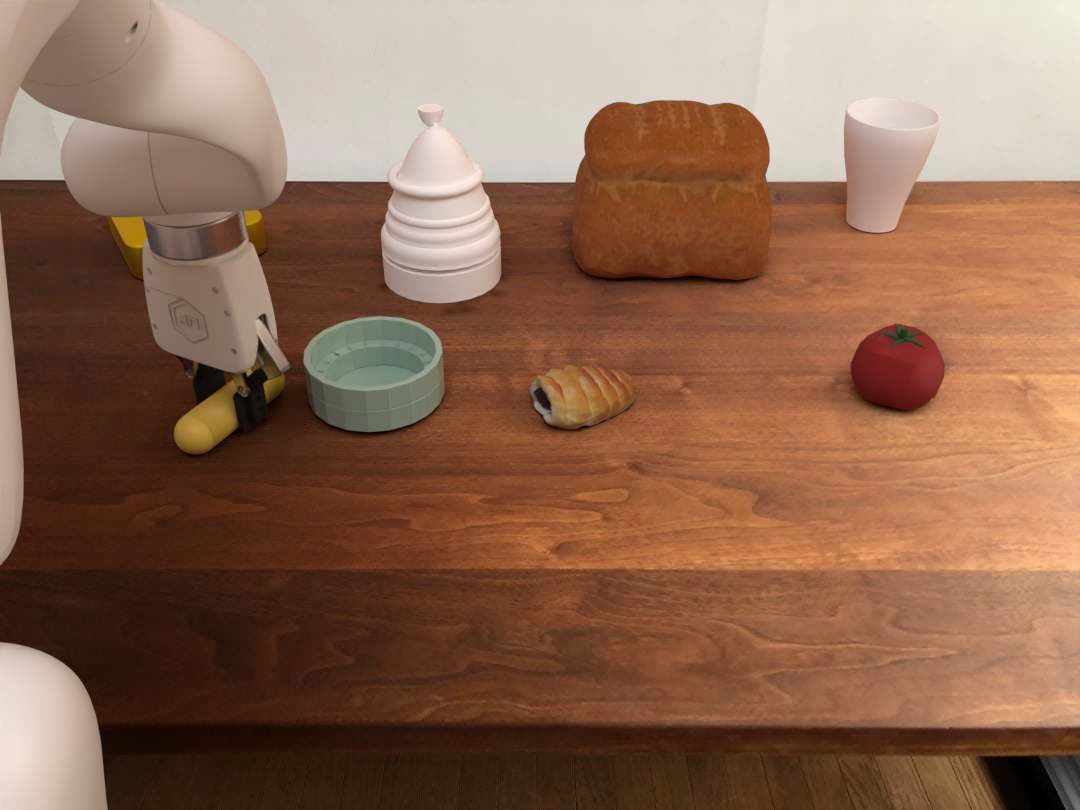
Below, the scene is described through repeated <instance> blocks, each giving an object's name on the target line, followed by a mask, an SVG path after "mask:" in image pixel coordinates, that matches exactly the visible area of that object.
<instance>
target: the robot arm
mask: <svg viewBox="0 0 1080 810" xmlns="http://www.w3.org/2000/svg"><path fill="white" fill-rule="evenodd" d="M20 89H21V90H22V91H23V92H24V93H26V94H27V95H28V96H29V97H30V98H32V99H33V100H34V101H36V102H38V103H39V104H41V105H42V106H44V107H46V108H48V109H50V110H53V111H56V112H59V113H61V114H64V115H67V116H71V117H74V118H75V119H74V120H73V121H72V123H71V125H70V126H69V128H68V130H67V132H66V135H65V136H64V138H63V140H62V144H61V149H60V166H61V172H62V175H63V179H64V181H65V184H66V186H67V189H68V191H69V193H70V194H71V196H72V197H73V199H74V200H75V201H76V202H77V203H78V204H79V205H80V206H81V207H82V208H84V209H85V210H87V211H88V212H90V213H93V214H96V215H99V216H103V217H107V216H110V217H143V221H144V226H145V230H146V234H147V239H146V240H145V242H144V244H143V278H144V280H143V287H144V294H145V301H146V307H147V312H148V313H147V314H148V317H149V323H150V327H151V332H152V334H153V339H154V342H155V343H156V344H157V346H158V347H159V348H161V349H162V350H164V351H165V352H168V353H170V354H173V355H174V356H175V357H176V358H177V359H178V360H179V361H180V362H181V363H182V365H183V366H182V367H183V373H184V375H185V376H186V377H187V378H188V379H189V380H192V381H191V383H192V387H193V391H194V397H195V401H196V406H198V405H199V404H200V403H202V402H203V401H204V400H206V399H207V398H208V397H210V396H211V395H212V394H214V393H215V392H216V391H218V390H219V389H220V388H222V387H223V386H224V385H226V384H227V382H226V375H225V372H228V373H230V374H231V377H232V380H234V383H235V386H236V389H237V392H236V393H235V394H234V395H233V401H234V406H235V411H236V416H237V420H238V426H239V427H238V429H239V431H240V432H242V433H244V434H248V433H249V432H251V431H252V430H253V429H254V428H256V427H257V426H258V425H259V424H261V422H263V421H264V420H265V419H266V418H268V415H269V408H268V404H267V402H266V397H265V391H264V385H263V384H264V383H265V382H266V381H267V380H271V379H274V378H277V377H280V376H281V375H282V374H283V373H284V374H285V373H286V372H288V370H290V369H291V363H290V362H289V361H288V359H287V357H286V356H285V354H284V352H283V351H282V350H281V347H280V346H279V345H278V344H279V343H278V341H279V339H278V329H277V322H276V321H277V320H276V316H275V311H274V306H273V302H272V298H271V294H270V290H269V286H268V283H267V279H266V276H265V273H264V270H263V267H262V263H261V261H260V259H259V255H257V253H256V250H255V248H254V245H253V244H252V243H250V242H248V241H249V238H248V233H247V226H246V220H245V215H244V211H253V210H258V211H259V210H261V209H264V208H267V207H269V206H271V205H272V204H273V203H275V202H276V200H278V199H279V197H280V195H281V194H282V192H283V190H284V188H285V185H286V181H287V176H288V152H287V144H286V139H285V134H284V130H283V127H282V124H281V119H280V117H279V114H278V109H277V108H276V107H277V106H276V104H275V102H274V99H273V96H272V92H271V89H270V87H269V85H268V82H267V79H266V78H265V76H264V73H263V72H262V70H261V69H260V67H259V66H258V64H257V63H256V61H255V60H254V59H253V58H252V57H251V55H249V53H247V51H245V50H244V49H243V48H242V47H241V46H239V45H238V44H236V43H235V42H234V41H233V40H232V39H229V38H228V37H226V36H225V35H223V34H222V33H221V32H220V33H219V32H218V31H217V30H214V29H213V28H211V27H210V26H208V25H206V24H205V23H203V22H201V21H199V20H198V19H196V18H194V17H192V16H191V15H189V14H187V13H185V12H184V11H181V10H180V9H177V8H175V7H174V6H172V5H169V4H167V3H166V2H164V1H161V0H0V155H2V148H3V141H4V136H5V131H6V124H7V122H8V119H9V116H10V113H11V110H12V107H13V104H14V101H15V98H16V96H17V94H18V92H19V90H20ZM1 214H2V213H0V566H1V565H2V564H3V563H4V562H5V561H6V559H8V557H9V555H10V554H11V552H12V551H13V548H14V547H15V545H16V542H17V538H18V537H19V536H18V535H19V532H20V528H21V523H22V515H23V504H24V486H25V485H24V484H25V483H24V482H25V480H24V479H25V478H24V477H25V473H24V472H25V468H24V448H23V431H22V430H23V429H22V421H21V411H20V400H19V389H18V381H17V379H18V378H17V369H16V359H15V347H14V339H13V328H12V327H13V326H12V318H11V310H10V299H9V289H8V279H7V267H6V259H5V250H4V249H5V248H4V240H3V239H4V238H3V229H2V228H3V227H2V215H1ZM250 368H251V370H252V373H251V374H250V375H249V376H247V373H246V371H248V369H250ZM102 748H103V747H102V740H101V734H100V729H99V723H98V718H97V714H96V711H95V709H94V706H93V703H92V700H91V697H90V695H89V693H88V690H87V689H86V686H85V685H84V684H83V682H82V680H81V679H80V678H79V676H78V675H77V674H76V673H75V672H74V671H73V670H72V669H71V668H70V667H69V666H68V665H66V663H64V662H62V661H61V660H59V659H57V658H56V657H54V656H53V655H50V654H48V653H46V652H44V651H42V650H39V649H37V648H34V647H30V646H26V645H21V644H18V643H11V642H3V641H0V810H108V802H107V801H108V800H107V792H106V781H105V771H104V770H105V769H104V761H103V760H104V758H103V749H102Z"/></svg>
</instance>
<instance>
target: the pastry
mask: <svg viewBox="0 0 1080 810" xmlns="http://www.w3.org/2000/svg"><path fill="white" fill-rule="evenodd" d="M529 395H530V397H531V398H532V402H533V403H532V404H533V407H534V408H535V410H536V411H537V412H538V413H539V414H540V415H542V416H543V420H544V421H545V422H546V424H548V425H550V426H553V427H556V428H560V429H563V430H578V429H579V428H581V427H584V426H588V427H592V426H594V425H597V424H599V423H601V422H602V421H608V420H609V419H610V418H614V417H615V416H618V415H619V414H621V413H622V412H624V411H626V410H627V409H628V408H629V407H630V406H631V404H633V403H634V401H635V399H636V396H637V392H636V386H635V384H634V382H633V380H632V378H631V375H630V374H629V373H627V372H624V371H621V370H619V369H616V368H615V369H614V368H604V367H603V366H597V367H591V366H589V365H588V364H587V365H583V366H580V367H578V366H575V365H573V364H568V365H567V366H565V367H564V368H563V369H562V368H555V367H553V368H550V369H549V370H547V372H546V373H545V374H544V375H541V374H540V375H537V376H536V378H535V380H534V381H533V382H532V383H531V386H530V387H529Z"/></svg>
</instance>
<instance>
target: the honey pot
mask: <svg viewBox="0 0 1080 810" xmlns="http://www.w3.org/2000/svg"><path fill="white" fill-rule="evenodd" d="M417 111H418V115H419V118H420V120H421V122H422V123H423V124H424V125H425V126H427V128H424V129H423V130H422V131H421V132H420V133H419V134H418V135H417V136H416V138H415V139H414V140H413V142H412V144H411V146H410V147H409V149H408V151H407V153H406V155H405V157H404V159H402V160H401V161H398V162H396V163H395V164H393V165H392V166H391V167H390V168H389V170H388V172H387V174H386V180H387V183H388V185H389V186H390V187H391V189H392V190H393V191H392V194H391V197H390V198H389V200H388V202H387V211H386V213H385V217H384V218H385V219H384V220H385V221H384V223H383V225H382V227H381V231H380V242H381V252H382V253H381V254H382V267H383V277H384V282H385V284H386V286H387V288H388V289H389V290H391V291H392V292H393V293H394V294H396V295H397V296H400V297H402V298H405V299H406V300H407V299H408V300H411V301H415V302H421V303H428V304H449V303H459V302H462V301H463V302H464V301H467V300H472V299H474V298H477V297H480V296H483V295H484V294H486V293H488V292H489V291H491V290H493V289H494V288H495V287H496V285H497V284H498V283H499V282H500V280H501V276H502V247H501V243H502V242H501V234H502V233H501V230H500V225H499V222H498V221H497V219H496V218H495V215H494V211H493V208H492V207H491V201H490V197H489V195H488V194H487V193H486V191H485V189H484V187H483V184H482V183H483V180H484V177H485V176H484V175H485V174H484V169H483V167H481V165H480V164H478V162H476V161H474V160H472V159H471V158H470V156H469V155H468V153H467V151H466V150H465V148H464V146H463V145H462V143H461V142H460V141H459V140H458V138H457V137H456V136H455V135H454V134H453V133H452V132H451V131H449V130H448V129H447V128H445V127H443V126H441V125H440V122H441V121H442V119H443V116H444V106H443V105H441V104H438V103H425V104H421V105H419V106H418V107H417Z"/></svg>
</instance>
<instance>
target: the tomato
mask: <svg viewBox="0 0 1080 810" xmlns="http://www.w3.org/2000/svg"><path fill="white" fill-rule="evenodd" d="M938 347H939V346H938V345H937V343H936V341H935V340H934V339H933V338H932V337H931V336H930V335H929V334H928V333H926V332H925V331H924V330H922V329H920V328H918V327H916V326H911V325H906V324H902V323H897V322H896V323H895V324H892V325H887V326H885V327H882V328H880V329H878V330H876V331H874V332H872V333H870V334H868V335H867V336H865V338H864V339H862V340H861V341H860V342H859V344H858V346H857V348H856V349H855V352H854V354H853V357H852V359H851V361H850V376H851V379H852V382H853V384H854V386H855V388H856V390H857V391H858V393H859V394H860V395H861V396H862V397H863V398H864V399H866V400H868V401H870V402H872V403H875V404H879V405H882V406H883V405H884V406H888V407H892V408H896V409H901V410H905V411H908V410H909V411H910V410H915V409H919V408H921V407H923V406H925V405H927V404H928V403H930V401H932V399H934V398H935V397H937V394H938V392H939V389H940V388H941V386H942V383H943V381H944V378H945V369H946V368H945V366H946V364H945V361H944V358H943V355H942V352H941V351H940V350H939V348H938Z"/></svg>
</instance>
